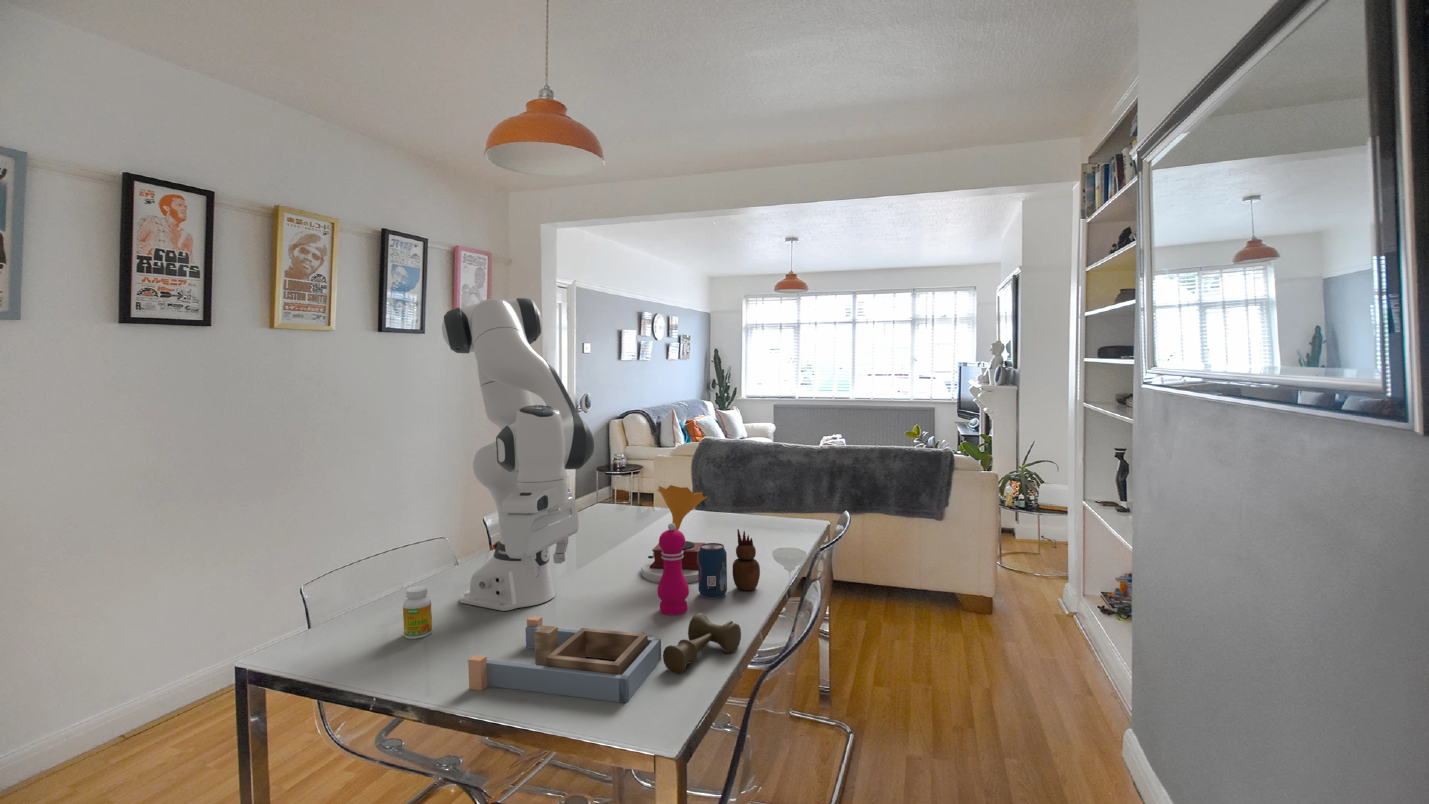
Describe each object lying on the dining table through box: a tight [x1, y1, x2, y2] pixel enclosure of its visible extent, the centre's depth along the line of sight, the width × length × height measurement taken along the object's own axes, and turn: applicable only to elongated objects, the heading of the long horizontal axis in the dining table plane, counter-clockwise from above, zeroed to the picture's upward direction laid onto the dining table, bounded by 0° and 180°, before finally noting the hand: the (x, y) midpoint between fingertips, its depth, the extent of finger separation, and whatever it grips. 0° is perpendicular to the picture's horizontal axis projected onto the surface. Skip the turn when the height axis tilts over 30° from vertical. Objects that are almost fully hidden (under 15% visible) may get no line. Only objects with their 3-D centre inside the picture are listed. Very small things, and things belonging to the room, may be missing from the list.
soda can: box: [697, 542, 728, 600], centre depth 157 cm, size 7×7×12 cm
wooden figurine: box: [732, 528, 761, 592], centre depth 161 cm, size 7×6×15 cm
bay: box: [467, 615, 662, 704], centre depth 118 cm, size 28×20×5 cm
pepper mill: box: [656, 522, 690, 616], centre depth 147 cm, size 7×7×20 cm
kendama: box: [662, 612, 742, 674], centre depth 124 cm, size 6×10×20 cm
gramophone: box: [640, 484, 708, 584], centre depth 176 cm, size 20×20×25 cm
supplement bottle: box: [402, 585, 433, 640], centre depth 136 cm, size 5×5×10 cm
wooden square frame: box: [534, 624, 649, 675], centre depth 117 cm, size 19×13×7 cm
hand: (546, 569), depth 118 cm, fingers open, 8 cm apart
